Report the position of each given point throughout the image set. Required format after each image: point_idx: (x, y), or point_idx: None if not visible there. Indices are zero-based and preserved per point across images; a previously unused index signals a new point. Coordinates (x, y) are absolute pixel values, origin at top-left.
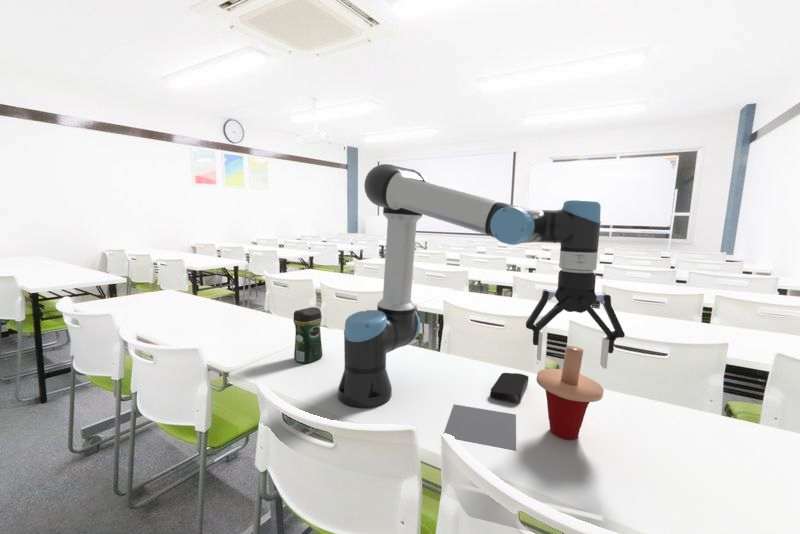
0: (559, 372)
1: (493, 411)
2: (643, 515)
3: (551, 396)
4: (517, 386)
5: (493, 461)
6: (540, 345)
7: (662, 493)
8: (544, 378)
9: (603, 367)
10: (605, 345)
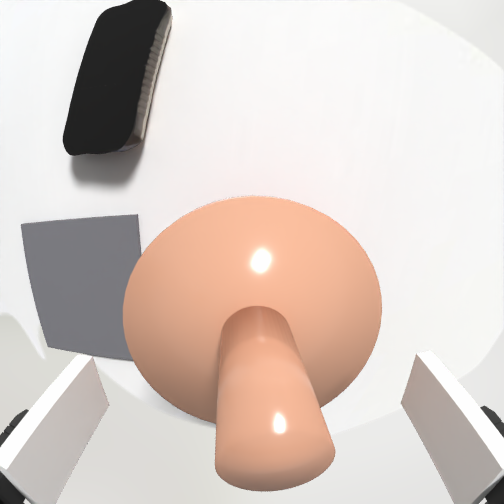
0: (219, 248)
1: (87, 221)
2: (331, 424)
3: None
4: (126, 87)
5: (130, 385)
6: (71, 458)
7: (379, 379)
8: (155, 356)
9: (403, 405)
10: (450, 487)
